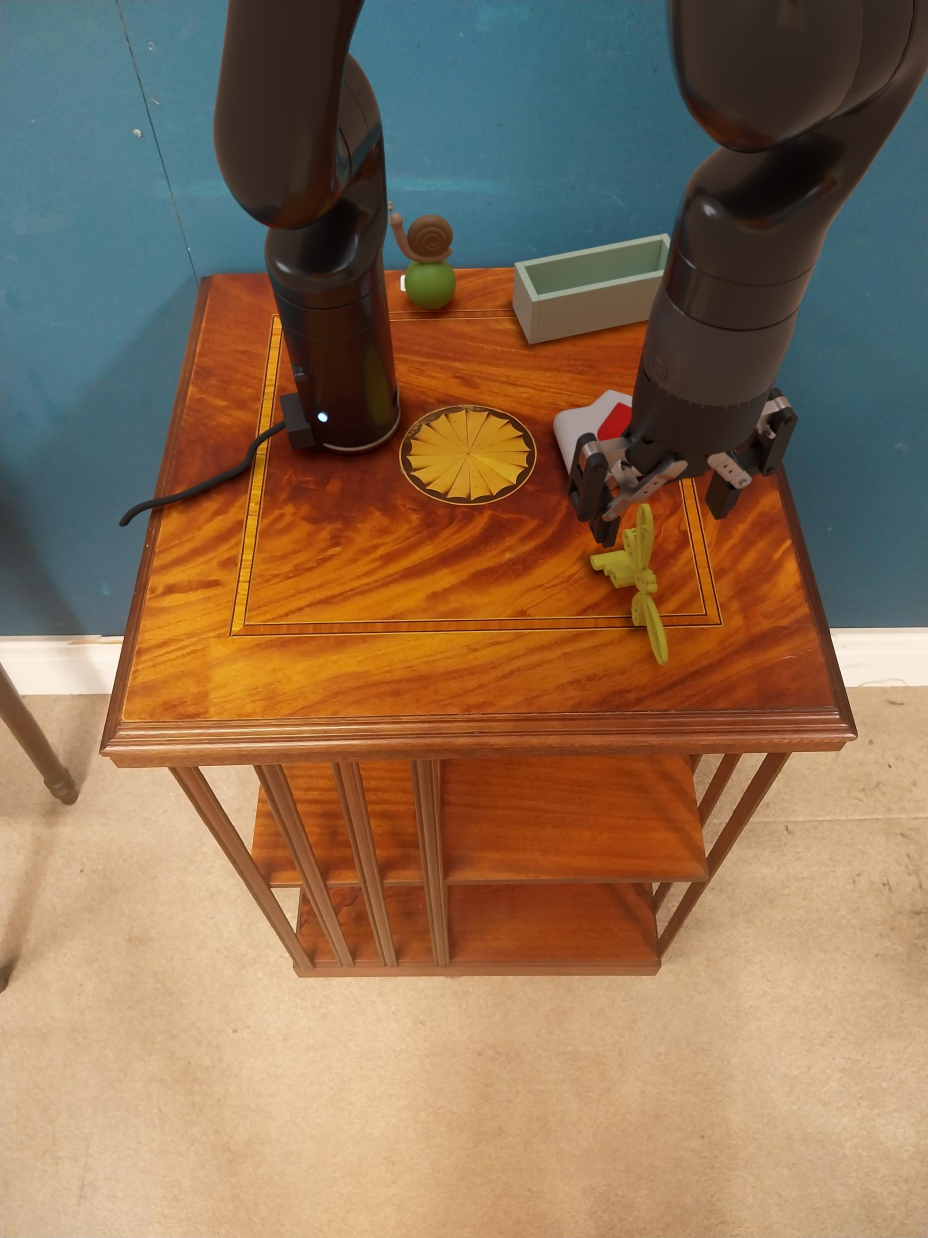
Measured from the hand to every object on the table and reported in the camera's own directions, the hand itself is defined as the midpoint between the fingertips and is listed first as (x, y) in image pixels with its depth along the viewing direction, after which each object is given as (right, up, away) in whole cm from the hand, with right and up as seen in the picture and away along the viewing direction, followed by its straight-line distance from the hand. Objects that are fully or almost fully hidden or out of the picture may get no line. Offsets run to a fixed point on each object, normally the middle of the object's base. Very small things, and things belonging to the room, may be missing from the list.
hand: (659, 524), depth 61 cm
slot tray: (0, +26, +29) cm, 39 cm away
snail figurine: (-18, +27, +30) cm, 45 cm away
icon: (+1, +10, +21) cm, 23 cm away
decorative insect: (0, -7, +11) cm, 13 cm away
